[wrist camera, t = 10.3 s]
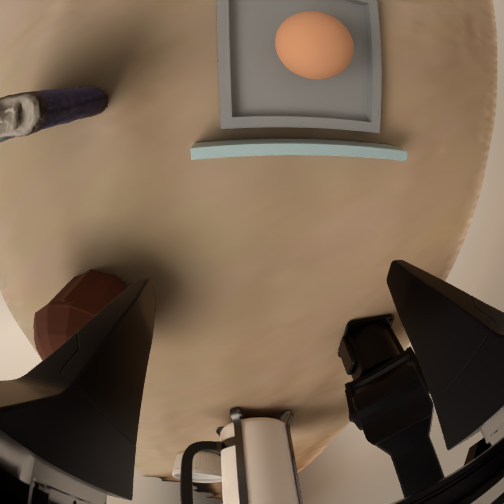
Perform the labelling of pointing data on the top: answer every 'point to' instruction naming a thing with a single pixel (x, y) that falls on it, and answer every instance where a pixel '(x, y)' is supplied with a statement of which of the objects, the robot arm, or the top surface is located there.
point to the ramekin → (201, 467)
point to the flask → (48, 109)
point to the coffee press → (250, 462)
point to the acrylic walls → (295, 148)
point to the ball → (314, 45)
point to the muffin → (73, 309)
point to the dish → (288, 83)
